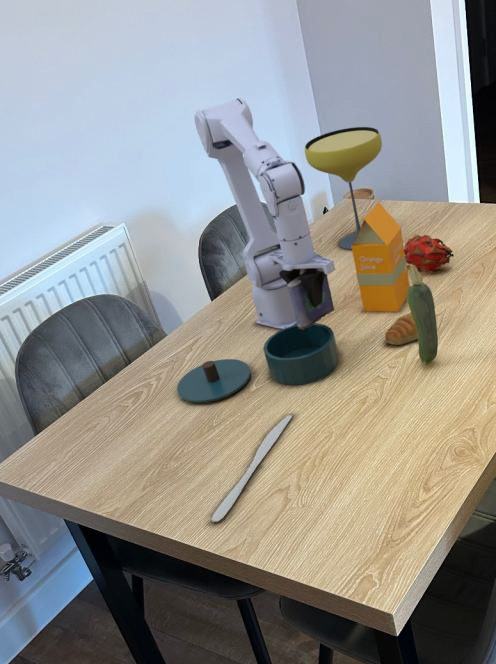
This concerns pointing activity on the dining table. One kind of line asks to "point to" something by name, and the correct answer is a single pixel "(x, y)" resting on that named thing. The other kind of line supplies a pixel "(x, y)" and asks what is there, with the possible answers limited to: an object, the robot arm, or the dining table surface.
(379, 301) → the orange juice
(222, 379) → the lid
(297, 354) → the pan
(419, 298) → the vegetable
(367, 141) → the cocktail glass
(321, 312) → the flask
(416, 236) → the dragon fruit
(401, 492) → the dining table surface
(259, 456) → the butter knife
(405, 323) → the pastry
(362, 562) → the dining table surface
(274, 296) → the robot arm
